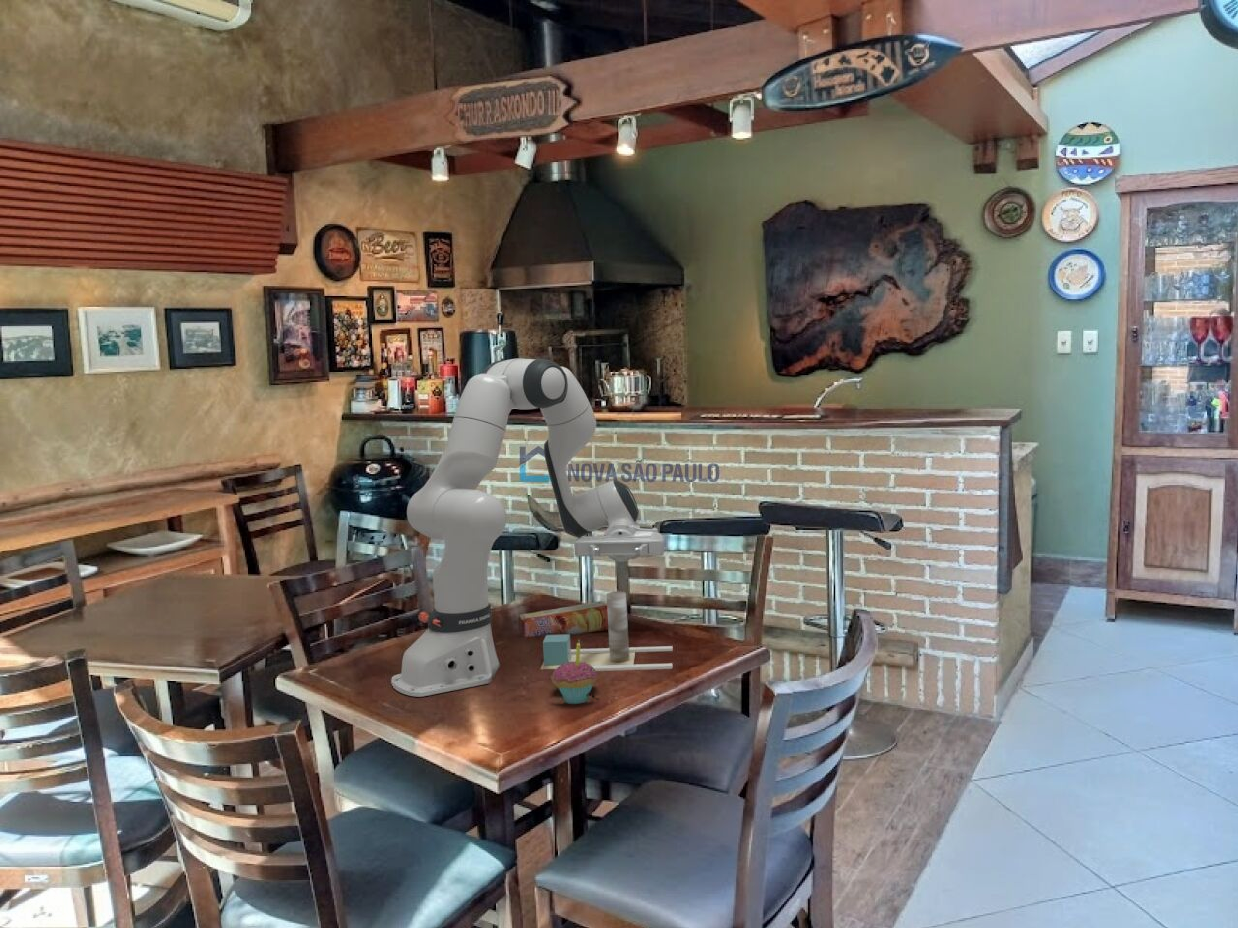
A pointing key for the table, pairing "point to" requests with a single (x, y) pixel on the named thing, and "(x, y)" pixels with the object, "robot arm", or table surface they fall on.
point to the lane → (629, 667)
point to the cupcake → (574, 679)
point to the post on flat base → (611, 636)
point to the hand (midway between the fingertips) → (617, 552)
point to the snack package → (565, 620)
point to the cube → (556, 649)
